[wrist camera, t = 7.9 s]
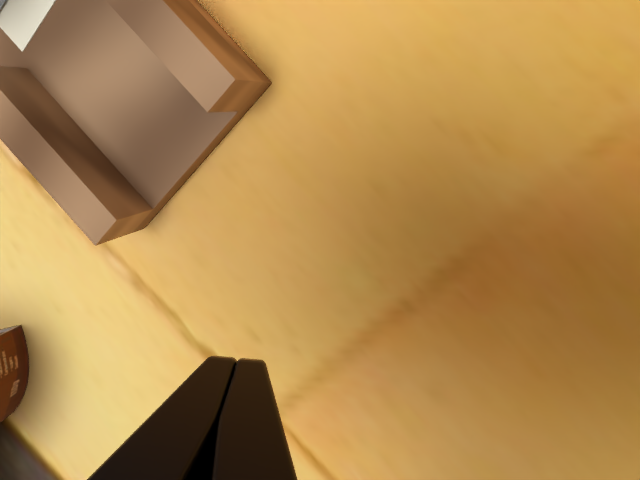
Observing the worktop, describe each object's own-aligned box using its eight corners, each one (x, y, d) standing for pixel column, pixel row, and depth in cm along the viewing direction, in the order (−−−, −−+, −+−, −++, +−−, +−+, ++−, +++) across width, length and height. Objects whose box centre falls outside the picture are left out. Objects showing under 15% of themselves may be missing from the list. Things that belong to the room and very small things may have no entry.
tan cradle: (272, 82, 22) (235, 79, 19) (143, 228, 25) (95, 245, 22) (14, -199, 22) (-62, -245, 19) (-79, -21, 25) (-156, -38, 22)
